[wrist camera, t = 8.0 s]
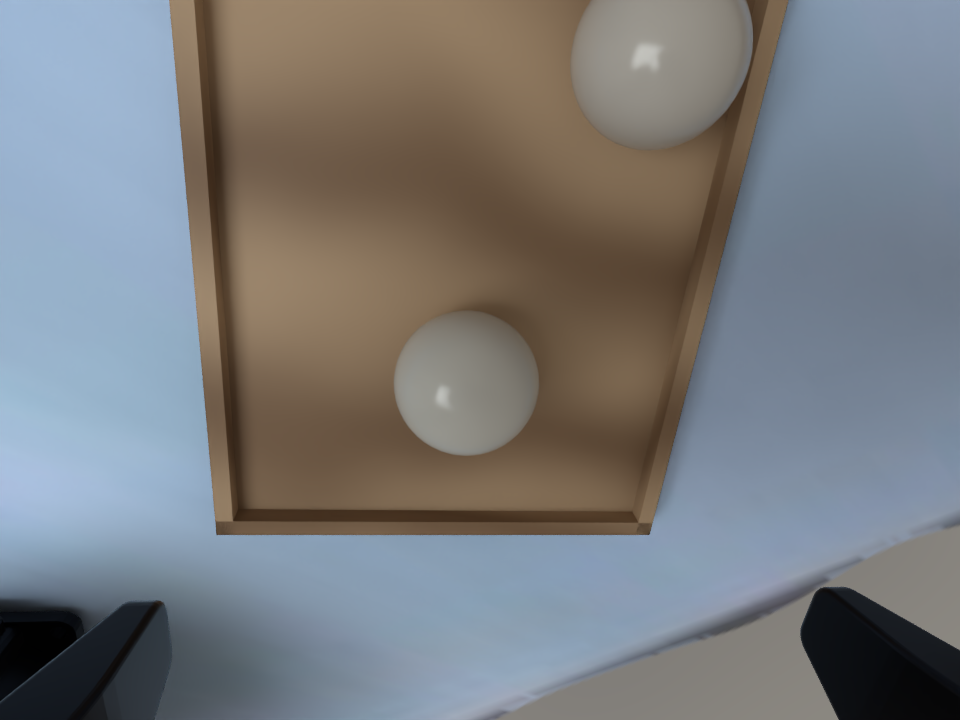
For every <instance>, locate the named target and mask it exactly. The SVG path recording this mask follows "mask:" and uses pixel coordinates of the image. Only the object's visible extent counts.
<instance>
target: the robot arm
mask: <svg viewBox="0 0 960 720" xmlns="http://www.w3.org/2000/svg"><path fill="white" fill-rule="evenodd" d="M61 627H62V628H61ZM800 635H801V641H802V644H803V647H804V649H805V651H806V653H807V655H808V657H809V659H810V661H811V664H812V666H813V668H814V670H815V672H816V674H817V676H818V678H819V680H820V682H821V684H822V686H823V688H824V690H825V692H826V694H827V696H828V698H829V700H830V703H831V705H832V707H833V709H834V711H835V713H836V715H837V717H838V719H839V720H960V650H958V649H957V648H955V647H953V646H951V645H950V644H948V643H946V642H944V641H942V640H940V639H939V638H937V637H935V636H934V635H932V634H930V633H928V632H927V631H925V630H923V629H921V628H919V627H918V626H916V625H914V624H913V623H911V622H909V621H907V620H905V619H904V618H902V617H900V616H898V615H897V614H895V613H893V612H891V611H890V610H888V609H886V608H884V607H883V606H881V605H879V604H877V603H876V602H874V601H872V600H870V599H868V598H867V597H865V596H863V595H861V594H860V593H858V592H856V591H854V590H852V589H850V588H847V587H823V588H820V589H819V590H817V591H816V593H815V594H814V596H813V599H812V601H811V604H810V606H809V609H808V611H807V613H806V616H805V618H804V621H803V623H802V626H801V633H800ZM171 658H172V646H171V639H170V631H169V624H168V617H167V610H166V607H165V605H164V603H163V602H161V601H157V600H156V601H130V602H127V603H125V604H123V605H121V606H120V607H119V608H117V609H116V610H115V611H113V612H112V613H111V614H110V615H108V616H107V617H106V618H105V619H103V620H102V621H101V622H100V623H98V624H97V625H96V626H95V627H93V628H92V629H91V630H90V631H88V632H87V633H86V634H84V629H83V625H82V621H81V619H80V618H79V617H78V616H77V615H75V614H73V613H70V612H64V611H55V612H1V613H0V720H154V719H155V715H156V712H157V709H158V706H159V702H160V699H161V696H162V692H163V689H164V686H165V682H166V679H167V676H168V672H169V669H170V664H171Z"/></svg>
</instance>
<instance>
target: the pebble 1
mask: <svg viewBox="0 0 960 720" xmlns="http://www.w3.org/2000/svg"><path fill="white" fill-rule="evenodd" d="M394 393H395V399H396V403H397V406H398V409H399V411H400V414H401V416H402V418H403V420H404V421H405V423H406V424H407V426H408V427H409V428H410V429H411V431H412V432H413V433H414V434H415V435H416V436H417V437H418V438H419V439H421V440H422V441H423V442H424V443H426V444H428V445H429V446H431V447H433V448H435V449H437V450H439V451H442V452H445V453H448V454H453V455H460V456H473V455H480V454H484V453H488V452H491V451H493V450H496V449H498V448H500V447H502V446H504V445H505V444H507V443H508V442H510V441H511V440H512V439H513V438H515V437H516V436H517V435H518V434H519V433H520V432H521V430H522V429H523V428H524V427H525V425H526V424H527V422H528V421H529V419H530V417H531V415H532V414H533V411H534V408H535V406H536V402H537V398H538V393H539V373H538V368H537V363H536V361H535V358H534V355H533V352H532V350H531V349H530V347H529V345H528V343H527V342H526V341H525V339H524V338H523V337H522V335H521V334H520V333H519V332H518V331H517V330H516V329H515V328H514V327H512V326H511V325H510V324H508V323H507V322H505V321H503V320H502V319H500V318H498V317H496V316H493V315H491V314H488V313H484V312H481V311H473V310H461V311H453V312H449V313H445V314H442V315H440V316H437V317H435V318H433V319H431V320H429V321H428V322H426V323H425V324H423V325H422V326H421V327H419V328H418V329H417V330H416V331H415V332H414V333H413V334H412V335H411V337H410V338H409V339H408V340H407V342H406V343H405V345H404V347H403V348H402V350H401V352H400V355H399V357H398V360H397V363H396V367H395V373H394Z"/></svg>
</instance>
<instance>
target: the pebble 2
mask: <svg viewBox="0 0 960 720" xmlns="http://www.w3.org/2000/svg"><path fill="white" fill-rule="evenodd" d="M752 49H753V25H752V18H751V14H750V10H749V6H748V4H747V1H746V0H591V1H590V2H589V4H588V6H587V7H586V9H585V11H584V12H583V15H582V17H581V19H580V21H579V24H578V26H577V29H576V32H575V35H574V38H573V43H572V48H571V57H570V75H571V82H572V88H573V91H574V95H575V98H576V101H577V103H578V106H579V108H580V109H581V111H582V113H583V115H584V116H585V118H586V119H587V120H588V122H589V123H590V124H591V125H592V126H593V127H594V128H595V129H596V130H597V131H598V132H599V133H600V134H601V135H603V136H604V137H605V138H607V139H608V140H610V141H612V142H614V143H616V144H618V145H621V146H624V147H627V148H631V149H636V150H649V151H650V150H660V149H667V148H671V147H675V146H677V145H680V144H682V143H685V142H687V141H689V140H691V139H693V138H695V137H697V136H698V135H700V134H701V133H703V132H704V131H705V130H707V129H708V128H709V127H711V126H712V125H713V124H714V123H715V122H716V121H717V120H718V119H719V118H720V117H721V116H722V115H723V114H724V113H725V112H726V110H727V109H728V108H729V106H730V105H731V104H732V102H733V101H734V99H735V97H736V96H737V94H738V92H739V90H740V88H741V87H742V84H743V82H744V80H745V77H746V75H747V72H748V68H749V65H750V61H751V56H752Z"/></svg>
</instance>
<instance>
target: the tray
mask: <svg viewBox="0 0 960 720" xmlns="http://www.w3.org/2000/svg"><path fill="white" fill-rule="evenodd" d="M590 1H591V0H169V3H170V14H171V25H172V37H173V48H174V59H175V70H176V82H177V93H178V104H179V116H180V127H181V138H182V150H183V161H184V172H185V183H186V195H187V206H188V217H189V229H190V240H191V251H192V263H193V274H194V285H195V296H196V308H197V319H198V330H199V342H200V353H201V364H202V376H203V387H204V398H205V409H206V421H207V432H208V443H209V455H210V466H211V477H212V489H213V500H214V511H215V522H216V534H217V535H650V531H651V527H652V523H653V519H654V515H655V511H656V508H657V504H658V500H659V496H660V492H661V488H662V485H663V481H664V477H665V473H666V469H667V465H668V462H669V458H670V454H671V450H672V446H673V442H674V438H675V435H676V431H677V427H678V423H679V419H680V415H681V412H682V408H683V404H684V400H685V396H686V392H687V388H688V385H689V381H690V377H691V373H692V369H693V365H694V362H695V358H696V354H697V350H698V346H699V342H700V338H701V335H702V331H703V327H704V323H705V319H706V315H707V312H708V308H709V304H710V300H711V296H712V292H713V288H714V285H715V281H716V277H717V273H718V269H719V265H720V262H721V258H722V254H723V250H724V246H725V242H726V238H727V235H728V231H729V227H730V223H731V219H732V215H733V212H734V208H735V204H736V200H737V196H738V192H739V189H740V185H741V181H742V177H743V173H744V169H745V165H746V162H747V158H748V154H749V150H750V146H751V142H752V139H753V135H754V131H755V127H756V123H757V119H758V115H759V112H760V108H761V104H762V100H763V96H764V92H765V89H766V85H767V81H768V77H769V73H770V69H771V65H772V62H773V58H774V54H775V50H776V46H777V42H778V39H779V35H780V31H781V27H782V23H783V19H784V15H785V12H786V8H787V4H788V0H746V1H747V4H748V6H749V10H750V14H751V18H752V25H753V49H752V56H751V61H750V65H749V68H748V72H747V75H746V77H745V80H744V82H743V84H742V87H741V88H740V90H739V92H738V94H737V96H736V97H735V99H734V101H733V102H732V104H731V105H730V106H729V108H728V109H727V110H726V112H725V113H724V114H723V115H722V116H721V117H720V118H719V119H718V120H717V121H716V122H715V123H714V124H713V125H712V126H711V127H709V128H708V129H707V130H705V131H704V132H703V133H701V134H700V135H698V136H697V137H695V138H693V139H691V140H689V141H687V142H685V143H682V144H680V145H677V146H675V147H671V148H667V149H660V150H650V151H649V150H636V149H631V148H627V147H624V146H621V145H618V144H616V143H614V142H612V141H610V140H608V139H607V138H605V137H604V136H603V135H601V134H600V133H599V132H598V131H597V130H596V129H595V128H594V127H593V126H592V125H591V124H590V123H589V122H588V120H587V119H586V118H585V116H584V115H583V113H582V111H581V109H580V108H579V106H578V103H577V101H576V98H575V95H574V91H573V88H572V82H571V75H570V57H571V48H572V43H573V38H574V35H575V32H576V29H577V26H578V24H579V21H580V19H581V17H582V15H583V12H584V11H585V9H586V7H587V6H588V4H589V2H590ZM461 310H473V311H481V312H484V313H488V314H491V315H493V316H496V317H498V318H500V319H502V320H503V321H505V322H507V323H508V324H510V325H511V326H512V327H514V328H515V329H516V330H517V331H518V332H519V333H520V334H521V335H522V337H523V338H524V339H525V341H526V342H527V343H528V345H529V347H530V349H531V350H532V352H533V355H534V358H535V361H536V363H537V368H538V373H539V393H538V398H537V402H536V406H535V408H534V411H533V414H532V415H531V417H530V419H529V421H528V422H527V424H526V425H525V427H524V428H523V429H522V430H521V432H520V433H519V434H518V435H517V436H516V437H515V438H513V439H512V440H511V441H510V442H508V443H507V444H505V445H504V446H502V447H500V448H498V449H496V450H493V451H491V452H488V453H484V454H480V455H473V456H460V455H453V454H448V453H445V452H442V451H439V450H437V449H435V448H433V447H431V446H429V445H428V444H426V443H424V442H423V441H422V440H421V439H419V438H418V437H417V436H416V435H415V434H414V433H413V432H412V431H411V429H410V428H409V427H408V426H407V424H406V423H405V421H404V420H403V418H402V416H401V414H400V411H399V409H398V406H397V403H396V399H395V393H394V373H395V367H396V363H397V360H398V357H399V355H400V352H401V350H402V348H403V347H404V345H405V343H406V342H407V340H408V339H409V338H410V337H411V335H412V334H413V333H414V332H415V331H416V330H417V329H418V328H419V327H421V326H422V325H423V324H425V323H426V322H428V321H429V320H431V319H433V318H435V317H437V316H440V315H442V314H445V313H449V312H453V311H461Z"/></svg>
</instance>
